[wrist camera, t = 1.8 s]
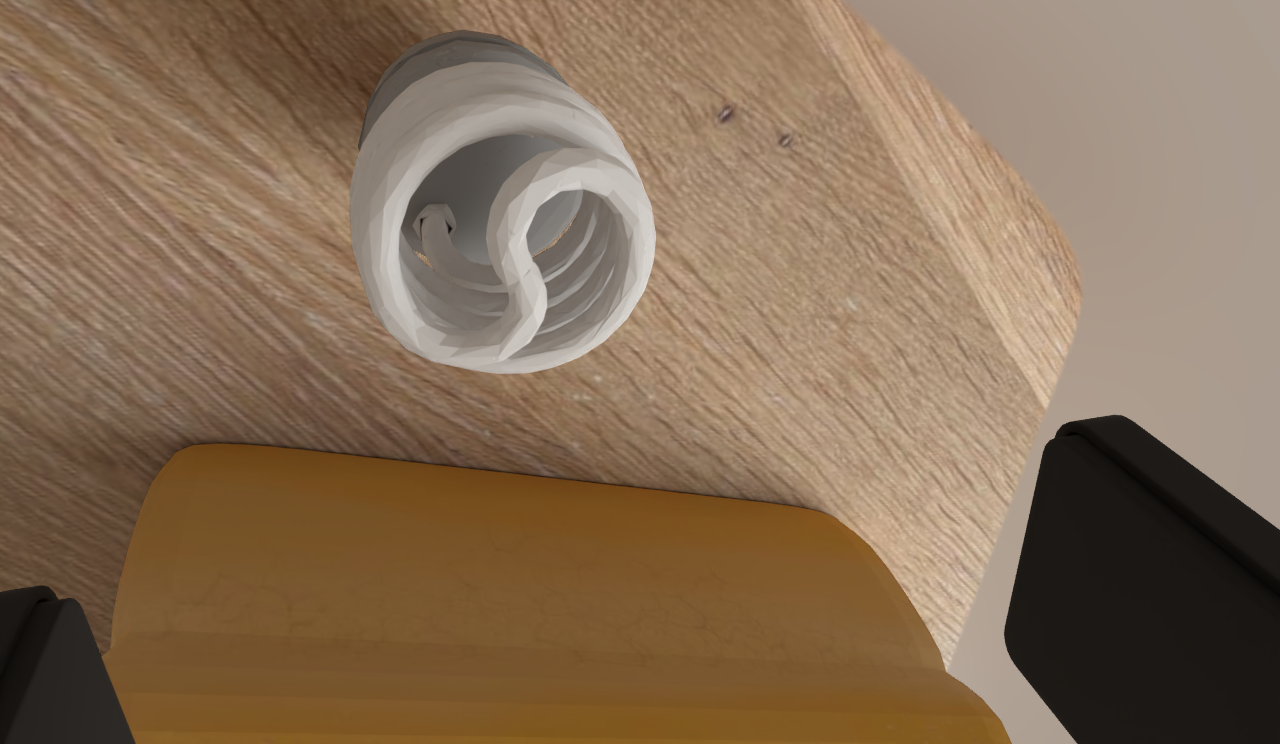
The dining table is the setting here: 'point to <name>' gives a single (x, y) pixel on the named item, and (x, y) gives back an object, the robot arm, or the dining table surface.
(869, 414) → the dining table surface
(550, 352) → the light bulb
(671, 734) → the bread
